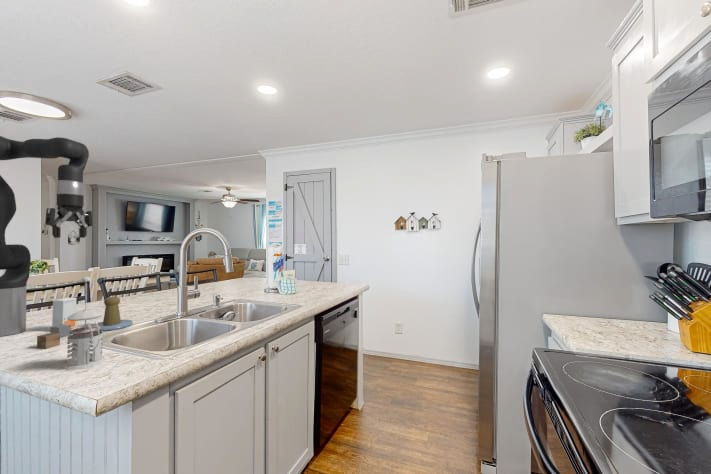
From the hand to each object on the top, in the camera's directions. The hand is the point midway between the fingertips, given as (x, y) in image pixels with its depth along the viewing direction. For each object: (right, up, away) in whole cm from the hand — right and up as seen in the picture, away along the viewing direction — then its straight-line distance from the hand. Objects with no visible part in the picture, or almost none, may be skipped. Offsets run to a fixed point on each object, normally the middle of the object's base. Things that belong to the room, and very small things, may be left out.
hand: (70, 237), depth 119 cm
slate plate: (+7, -36, +12) cm, 39 cm away
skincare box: (-8, -36, +7) cm, 38 cm away
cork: (+7, -35, +12) cm, 38 cm away
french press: (+28, -37, -26) cm, 53 cm away
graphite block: (-2, -36, -2) cm, 36 cm away
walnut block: (+4, -36, -12) cm, 38 cm away
